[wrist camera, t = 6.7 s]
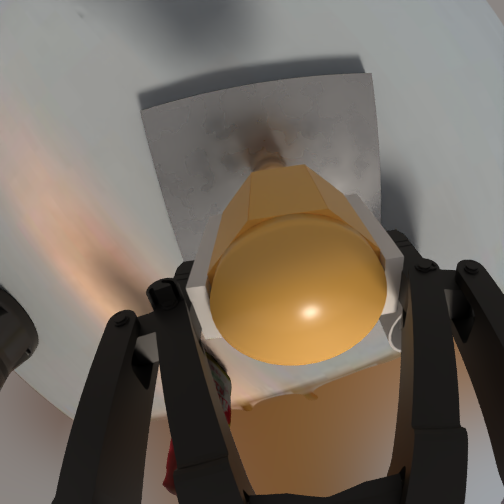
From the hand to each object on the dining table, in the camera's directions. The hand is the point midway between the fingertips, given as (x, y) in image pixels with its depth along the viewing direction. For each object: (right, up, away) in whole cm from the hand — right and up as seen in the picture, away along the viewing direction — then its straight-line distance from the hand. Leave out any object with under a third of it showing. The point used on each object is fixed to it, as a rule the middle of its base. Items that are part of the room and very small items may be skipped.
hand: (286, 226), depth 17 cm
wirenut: (0, 0, 0) cm, 0 cm away
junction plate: (0, +6, +11) cm, 12 cm away
